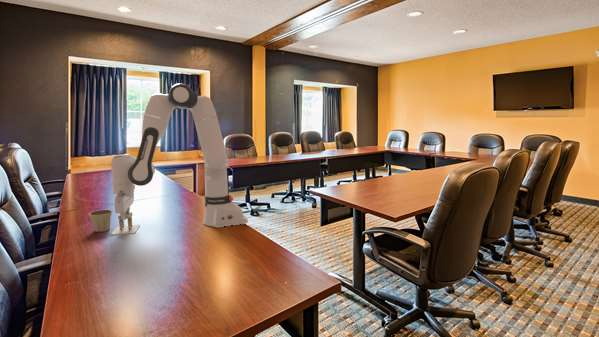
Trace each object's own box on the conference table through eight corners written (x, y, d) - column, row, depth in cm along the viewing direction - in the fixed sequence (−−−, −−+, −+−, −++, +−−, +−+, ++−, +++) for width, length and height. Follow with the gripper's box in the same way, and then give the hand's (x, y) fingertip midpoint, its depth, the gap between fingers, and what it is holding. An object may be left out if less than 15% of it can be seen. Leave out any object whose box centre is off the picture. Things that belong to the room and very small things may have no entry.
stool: (133, 226, 158) (132, 212, 157) (130, 229, 153) (129, 215, 152) (121, 227, 157) (120, 213, 156) (118, 230, 152) (117, 216, 151)
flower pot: (103, 234, 150) (101, 215, 148) (85, 232, 151) (83, 214, 150) (118, 227, 159) (116, 210, 157) (101, 226, 160) (100, 209, 159)
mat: (140, 225, 162) (140, 224, 162) (135, 233, 151) (135, 232, 151) (117, 227, 159) (117, 226, 159) (110, 235, 148) (110, 234, 148)
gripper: (125, 193, 143) (127, 223, 145) (135, 184, 163) (137, 211, 165) (109, 193, 142) (112, 224, 143) (121, 185, 161) (123, 212, 163)
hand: (125, 217), depth 154 cm, fingers closed on stool, 5 cm apart
